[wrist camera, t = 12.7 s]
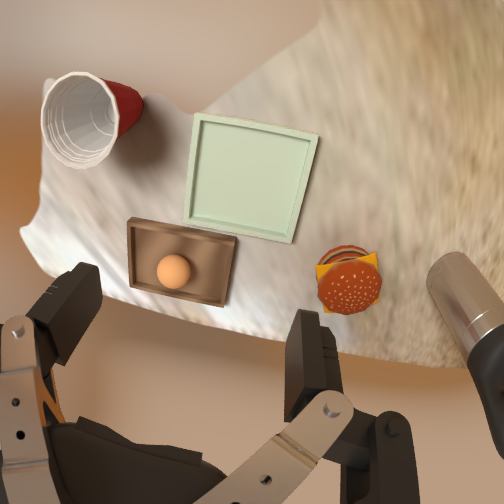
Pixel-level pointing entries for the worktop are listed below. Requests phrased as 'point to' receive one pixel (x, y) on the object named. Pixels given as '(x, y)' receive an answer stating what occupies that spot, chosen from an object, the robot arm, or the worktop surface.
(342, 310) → the hamburger
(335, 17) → the worktop surface
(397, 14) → the worktop surface
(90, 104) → the plastic cup
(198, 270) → the tray
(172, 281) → the ball
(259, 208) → the dish
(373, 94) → the worktop surface
